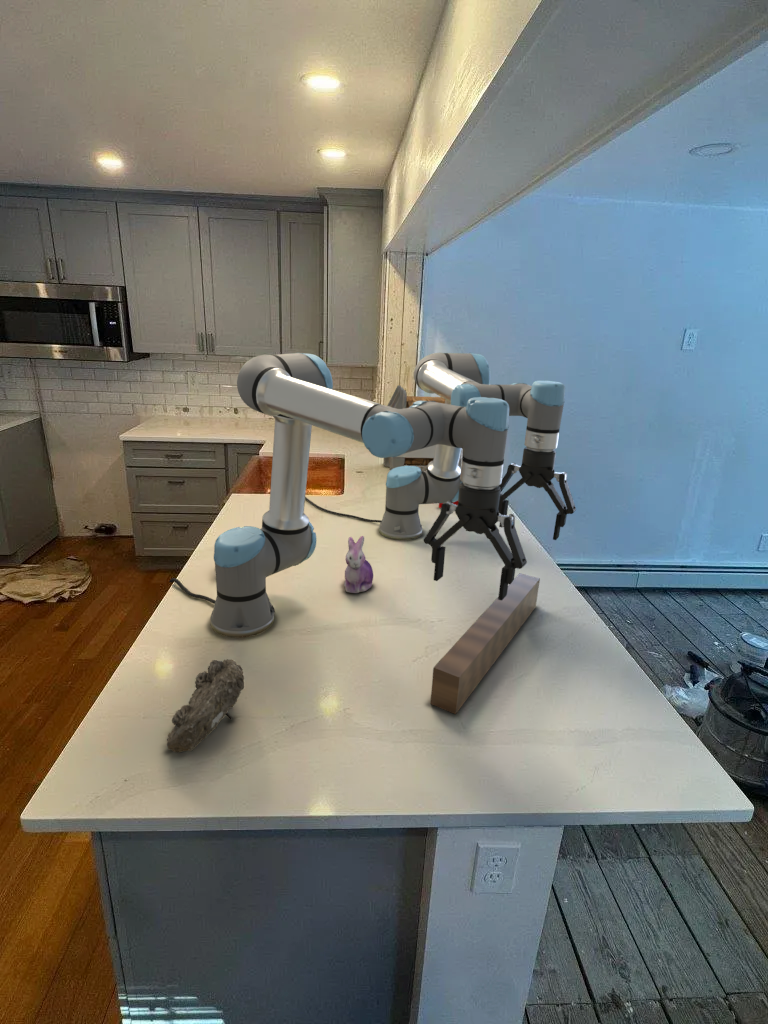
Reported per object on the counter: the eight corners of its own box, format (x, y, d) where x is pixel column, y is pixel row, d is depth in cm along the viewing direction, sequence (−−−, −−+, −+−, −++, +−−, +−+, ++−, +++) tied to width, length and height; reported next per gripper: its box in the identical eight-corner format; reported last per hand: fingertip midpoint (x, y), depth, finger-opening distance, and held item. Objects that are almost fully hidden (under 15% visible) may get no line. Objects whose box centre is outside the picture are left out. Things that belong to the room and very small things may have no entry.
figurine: (350, 597, 154) (351, 546, 149) (335, 581, 163) (336, 533, 158) (381, 591, 159) (383, 541, 153) (365, 576, 167) (367, 528, 162)
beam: (515, 601, 157) (519, 572, 154) (535, 607, 154) (540, 578, 151) (430, 703, 114) (433, 667, 111) (455, 714, 112) (459, 677, 109)
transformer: (382, 463, 289) (386, 382, 275) (445, 464, 293) (451, 384, 279) (390, 482, 257) (394, 392, 243) (460, 483, 261) (468, 394, 247)
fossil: (192, 660, 117) (244, 628, 112) (224, 691, 120) (276, 661, 115) (142, 746, 98) (202, 712, 93) (182, 779, 101) (242, 748, 96)
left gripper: (411, 476, 107) (404, 577, 114) (541, 503, 95) (525, 614, 102) (429, 467, 113) (422, 564, 120) (553, 492, 101) (537, 598, 108)
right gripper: (484, 443, 137) (476, 525, 144) (590, 460, 125) (575, 548, 132) (495, 437, 143) (487, 516, 150) (598, 454, 131) (583, 538, 138)
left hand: (469, 587), depth 111 cm, fingers open, 13 cm apart
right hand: (528, 532), depth 141 cm, fingers open, 13 cm apart
